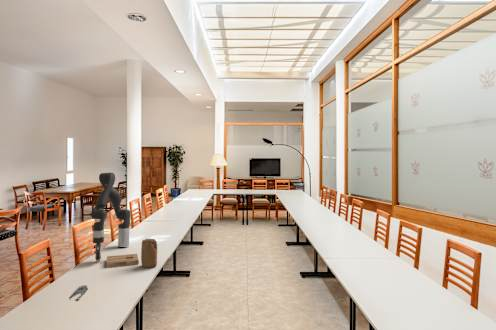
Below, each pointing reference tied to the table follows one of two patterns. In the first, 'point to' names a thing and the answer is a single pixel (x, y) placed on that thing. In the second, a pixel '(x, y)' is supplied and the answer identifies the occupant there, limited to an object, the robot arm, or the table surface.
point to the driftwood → (79, 292)
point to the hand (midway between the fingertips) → (98, 258)
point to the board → (122, 260)
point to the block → (149, 253)
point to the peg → (95, 256)
